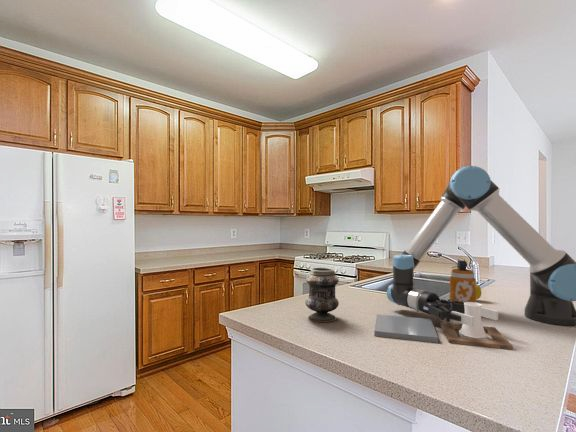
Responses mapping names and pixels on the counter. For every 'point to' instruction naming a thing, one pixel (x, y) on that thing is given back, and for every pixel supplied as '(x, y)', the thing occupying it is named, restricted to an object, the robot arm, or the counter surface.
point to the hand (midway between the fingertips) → (485, 318)
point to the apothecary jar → (322, 294)
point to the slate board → (405, 328)
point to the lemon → (478, 292)
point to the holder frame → (497, 337)
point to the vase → (477, 329)
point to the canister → (462, 284)
